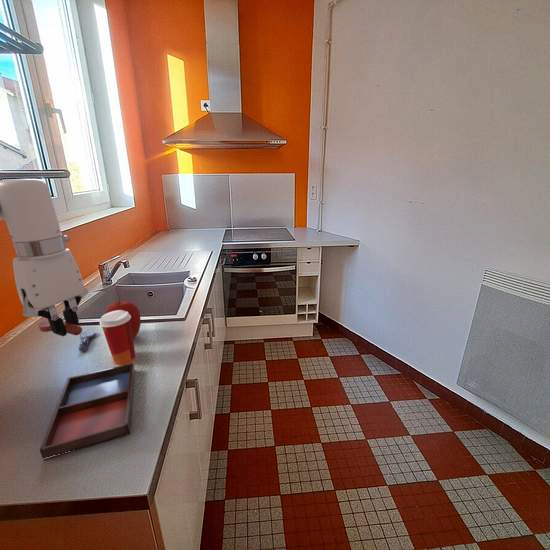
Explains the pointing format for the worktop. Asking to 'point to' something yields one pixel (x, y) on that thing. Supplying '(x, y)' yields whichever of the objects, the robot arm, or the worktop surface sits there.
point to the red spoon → (69, 327)
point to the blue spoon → (86, 339)
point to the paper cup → (119, 336)
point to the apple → (131, 310)
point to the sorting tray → (91, 410)
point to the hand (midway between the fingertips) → (67, 330)
